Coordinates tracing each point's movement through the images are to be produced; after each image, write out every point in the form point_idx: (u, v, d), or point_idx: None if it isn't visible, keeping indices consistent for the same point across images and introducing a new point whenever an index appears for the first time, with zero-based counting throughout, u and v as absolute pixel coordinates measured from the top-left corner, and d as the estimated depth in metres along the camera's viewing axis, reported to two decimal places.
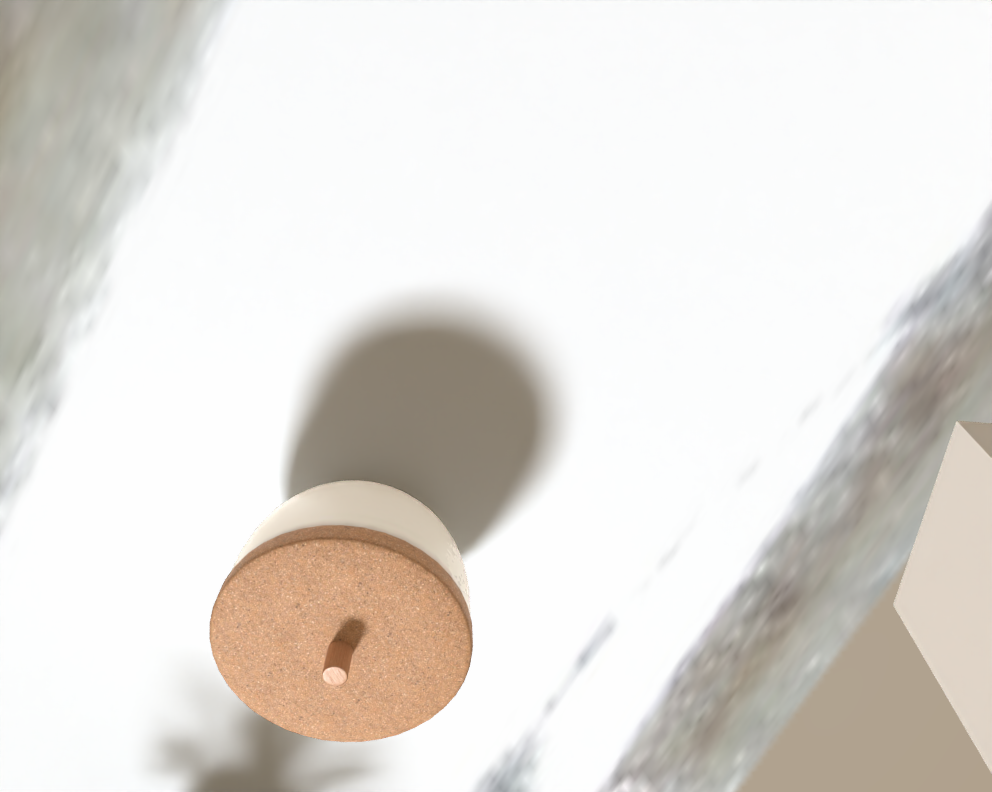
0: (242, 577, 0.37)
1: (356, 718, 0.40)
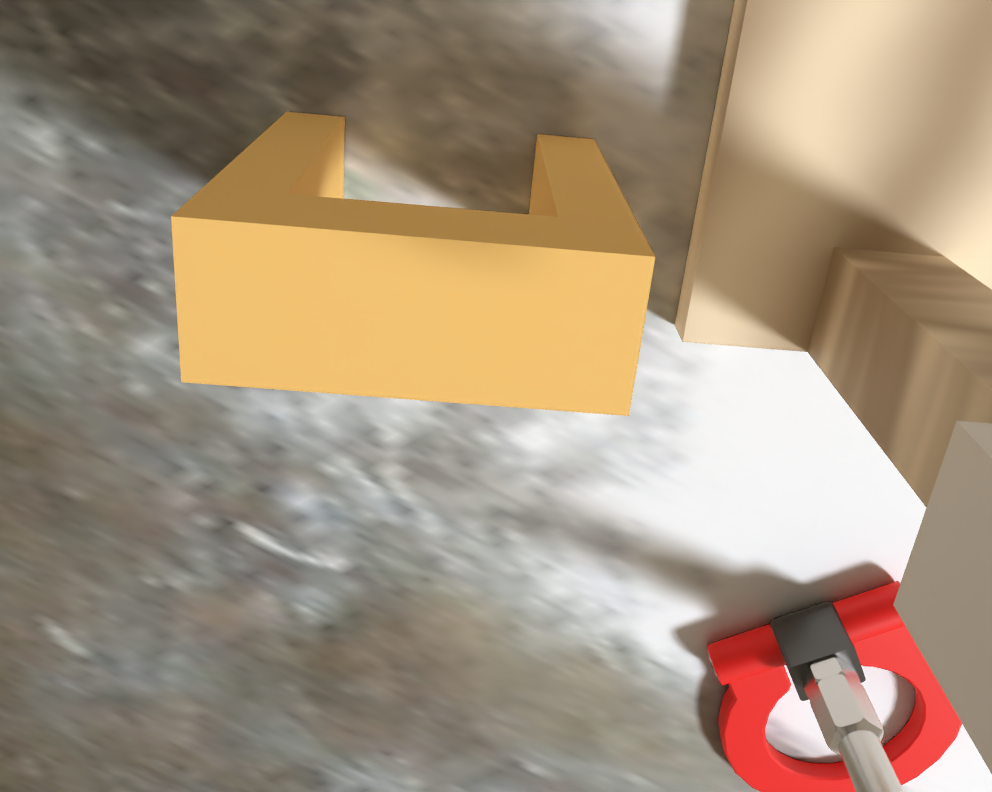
0: None
1: None
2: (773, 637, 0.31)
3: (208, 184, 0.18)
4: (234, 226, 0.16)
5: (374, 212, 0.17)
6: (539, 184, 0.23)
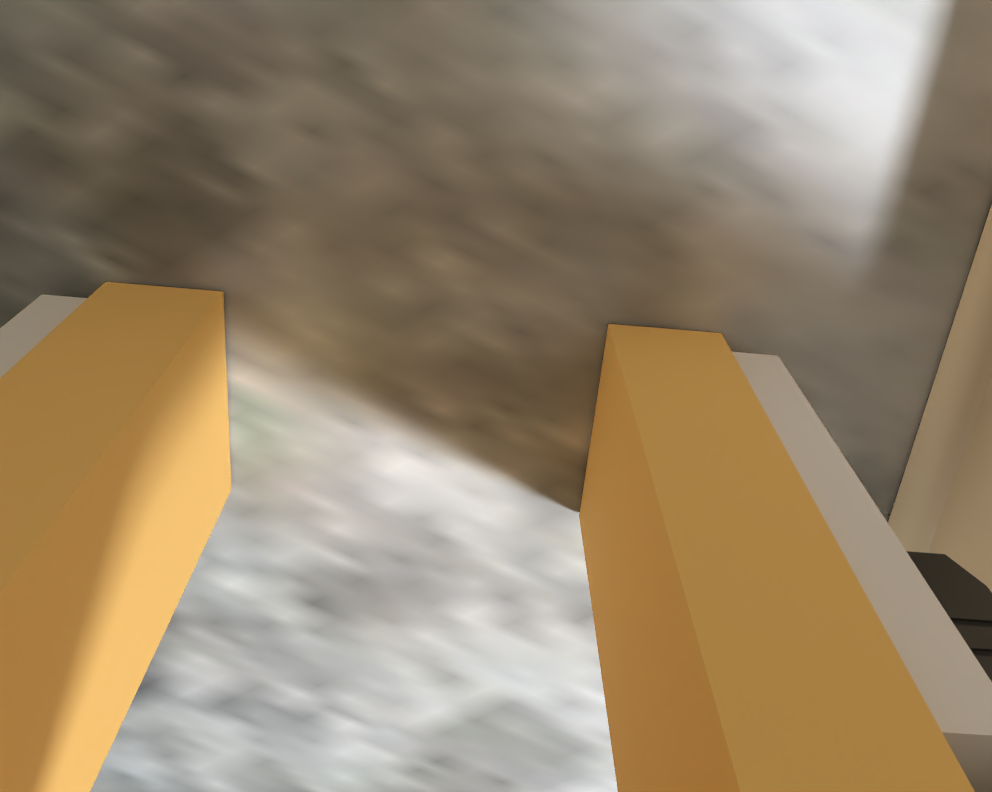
0: None
1: None
2: None
3: None
4: None
5: None
6: (625, 474, 0.10)
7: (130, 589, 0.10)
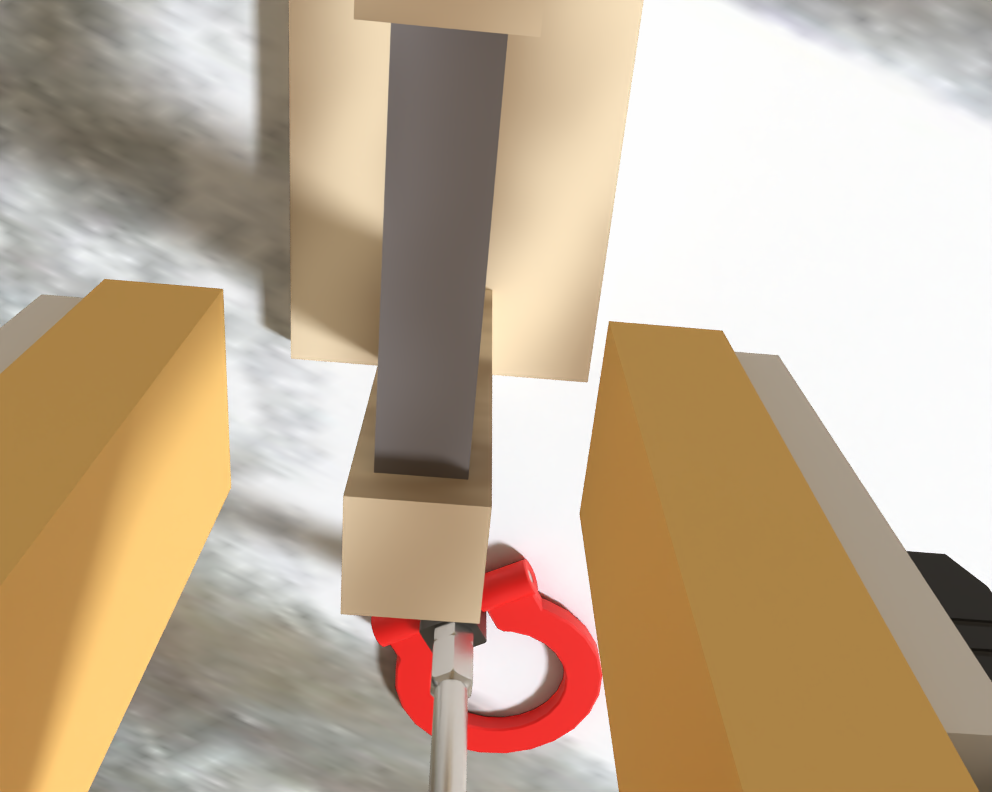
0: None
1: None
2: None
3: None
4: None
5: None
6: (626, 471, 0.10)
7: (128, 587, 0.09)
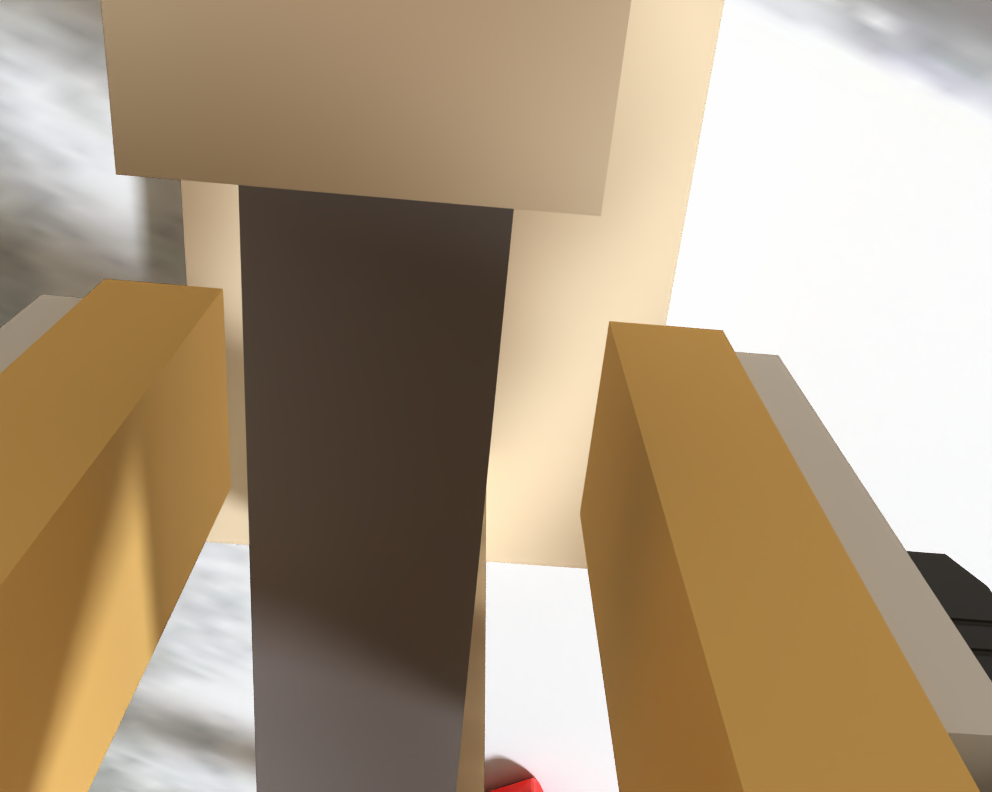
0: None
1: None
2: None
3: None
4: None
5: None
6: (626, 471, 0.10)
7: (128, 586, 0.09)
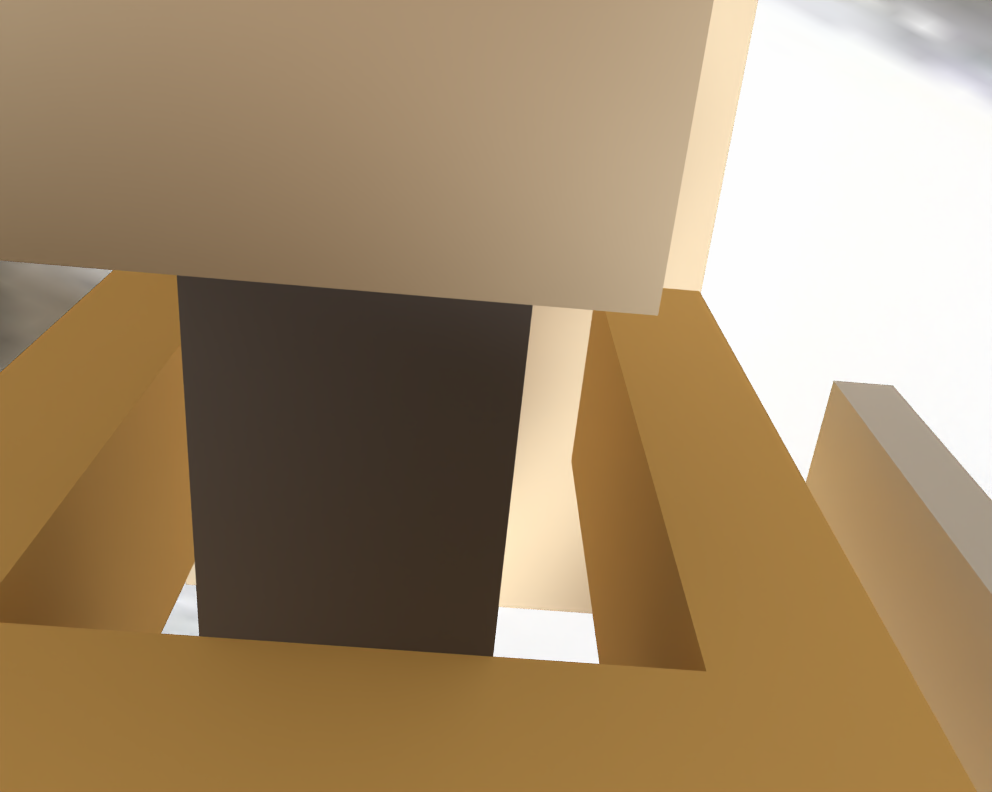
0: None
1: None
2: None
3: None
4: None
5: (194, 715, 0.06)
6: (609, 408, 0.12)
7: (173, 504, 0.11)
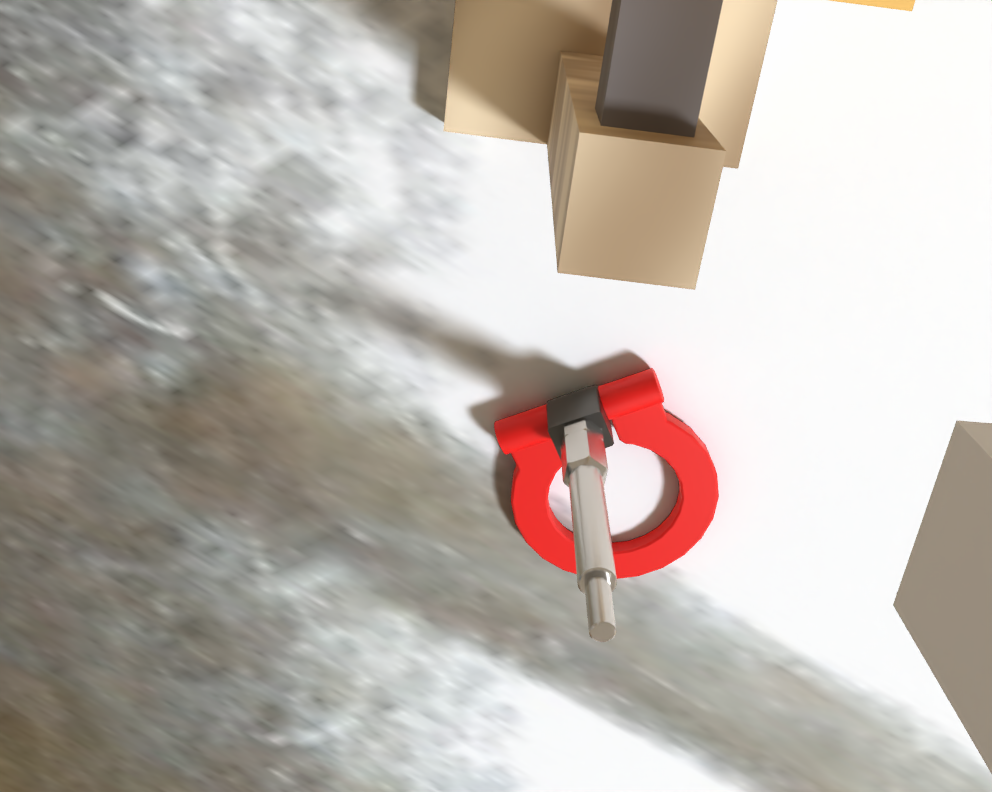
0: None
1: None
2: (546, 412, 0.37)
3: None
4: None
5: None
6: None
7: None
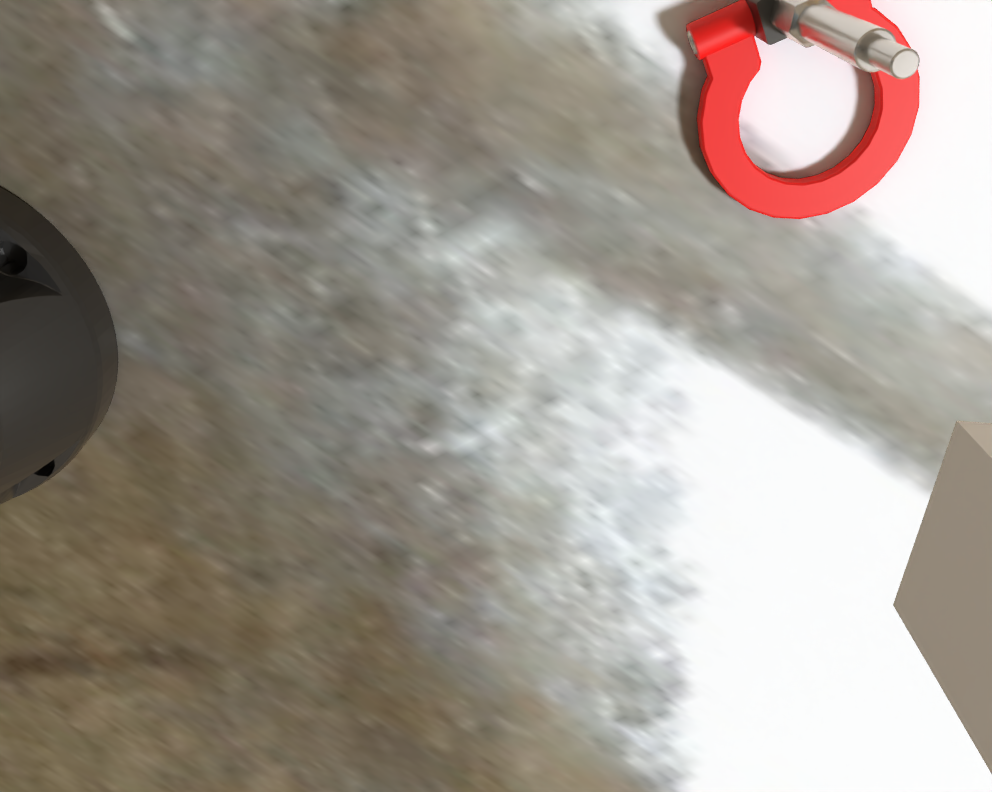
0: None
1: None
2: (745, 4, 0.35)
3: None
4: None
5: None
6: None
7: None
